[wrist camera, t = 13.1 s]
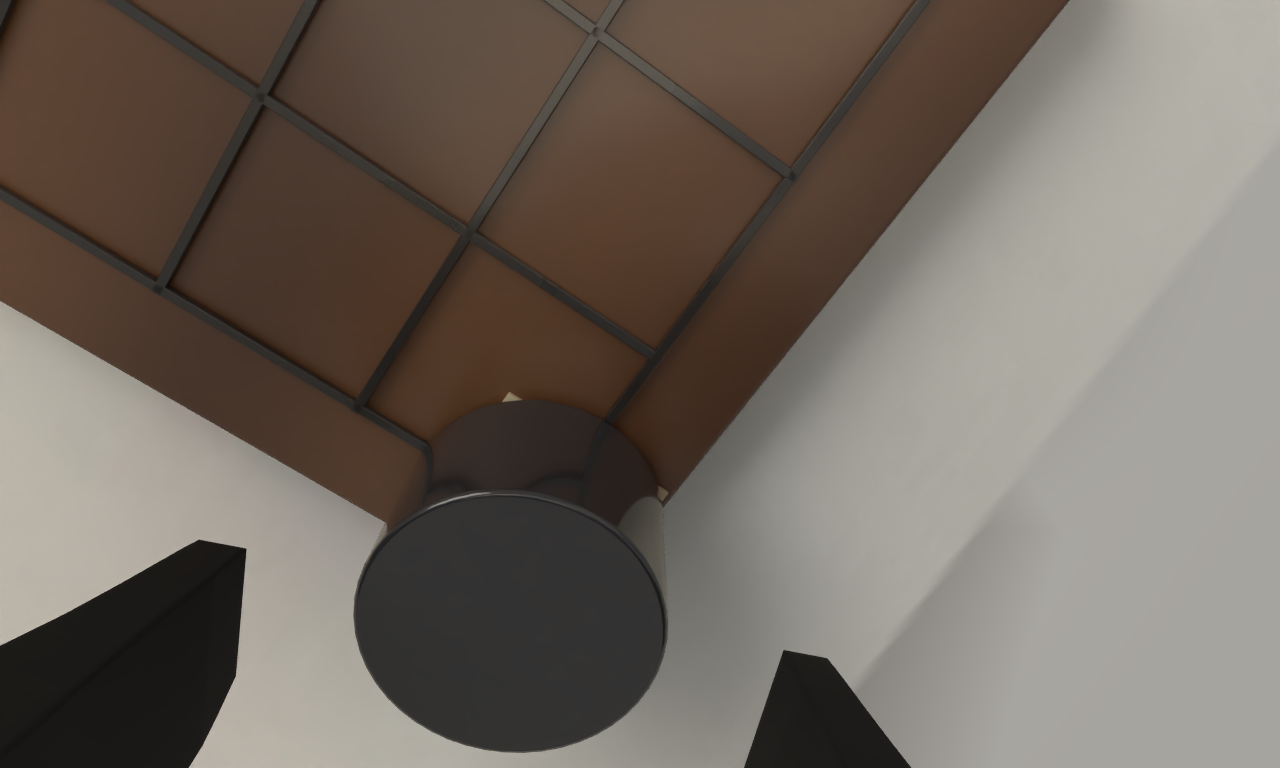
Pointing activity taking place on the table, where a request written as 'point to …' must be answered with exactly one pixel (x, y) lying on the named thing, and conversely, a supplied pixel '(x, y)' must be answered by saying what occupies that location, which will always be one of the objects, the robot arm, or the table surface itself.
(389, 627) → the dark grey cylinder
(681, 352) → the board
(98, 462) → the table surface
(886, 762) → the robot arm
